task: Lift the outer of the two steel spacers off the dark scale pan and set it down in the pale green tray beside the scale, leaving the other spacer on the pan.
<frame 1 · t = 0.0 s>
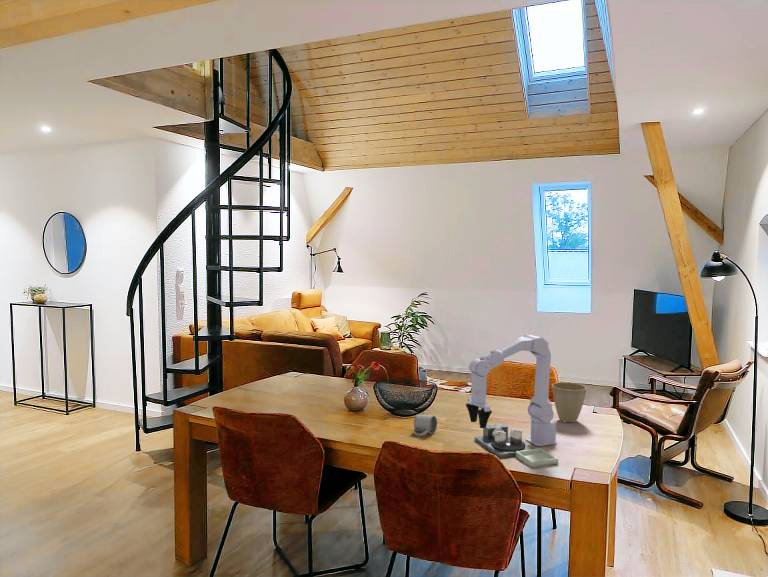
hand: (478, 424, 221), 10 cm above the table, tool pointing down, fingers open, 7 cm apart
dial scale: (504, 446, 226), on the table
ceramic mug: (424, 433, 242), on the table
spacer a: (516, 442, 224), point 2 cm above the table, touching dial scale
plant pot: (568, 420, 260), on the table
spacer b: (500, 444, 222), point 2 cm above the table, touching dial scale
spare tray: (536, 460, 212), on the table
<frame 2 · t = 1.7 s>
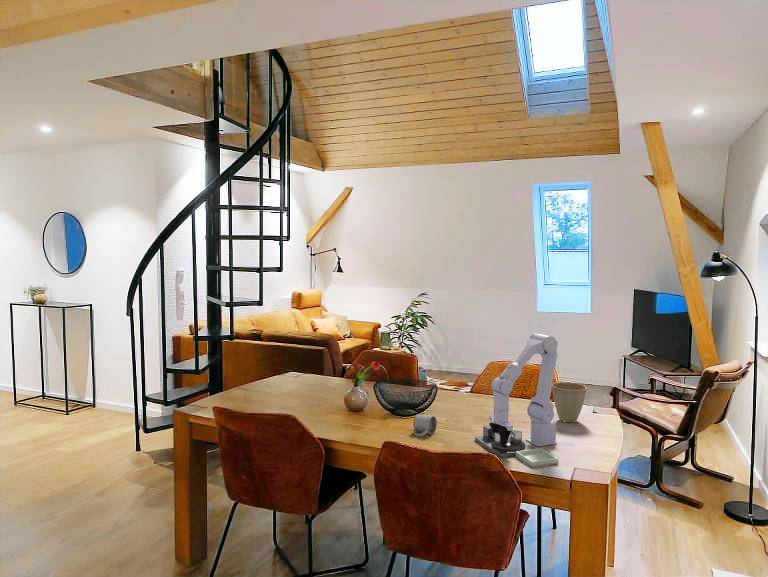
hand: (500, 443, 222), 3 cm above the table, tool pointing down, fingers closed on spacer b, 4 cm apart
spacer b: (500, 444, 222), point 2 cm above the table, touching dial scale, gripper
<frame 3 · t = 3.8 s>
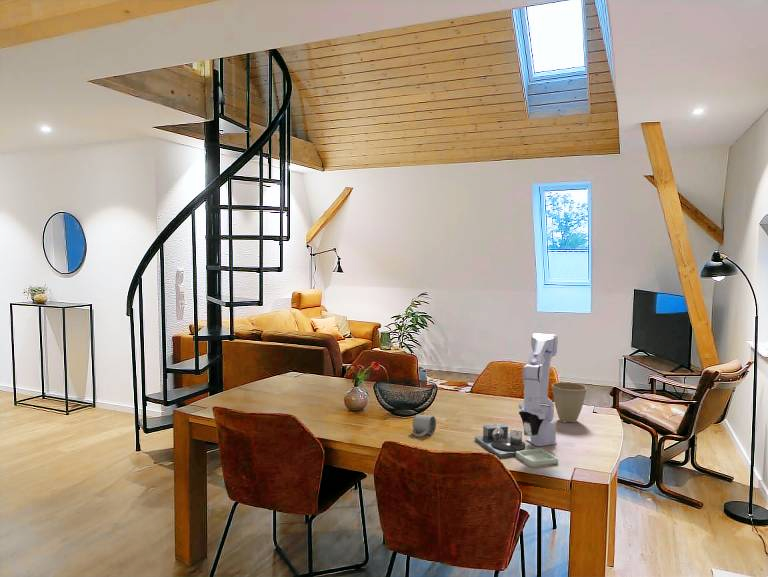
hand: (531, 432, 213), 10 cm above the table, tool pointing down, fingers closed on spacer b, 4 cm apart
spacer b: (530, 434, 213), point 9 cm above the table, touching gripper
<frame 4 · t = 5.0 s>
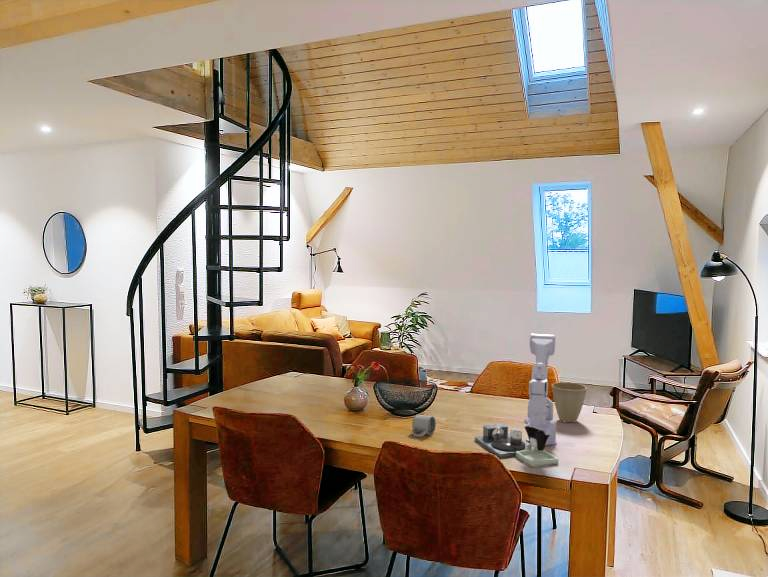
hand: (536, 447, 212), 5 cm above the table, tool pointing down, fingers closed on spacer b, 4 cm apart
spacer b: (535, 449, 212), point 4 cm above the table, touching gripper
when the fingers open (2 cm above the table, at t = 5.9 s): spacer b drops 1 cm, resting on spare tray.
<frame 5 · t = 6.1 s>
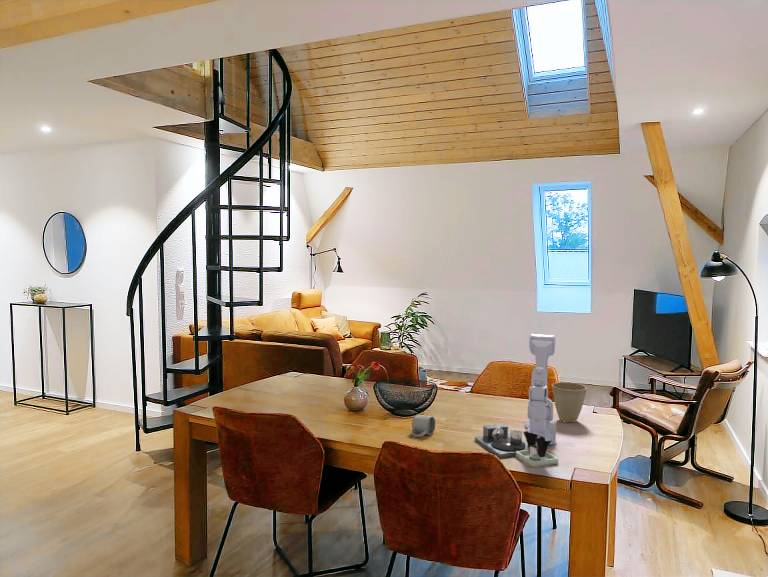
hand: (536, 453, 212), 3 cm above the table, tool pointing down, fingers open, 6 cm apart
spacer b: (535, 458, 212), point 1 cm above the table, touching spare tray
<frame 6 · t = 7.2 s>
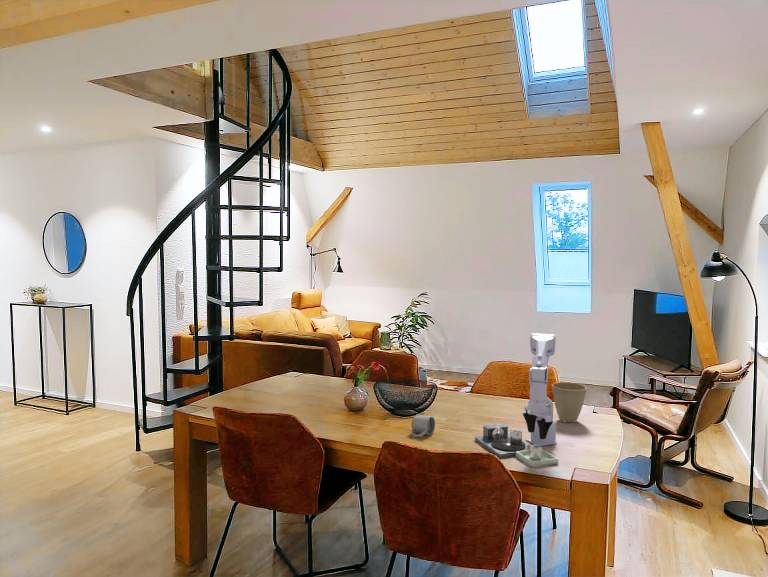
hand: (536, 435, 212), 9 cm above the table, tool pointing down, fingers open, 7 cm apart
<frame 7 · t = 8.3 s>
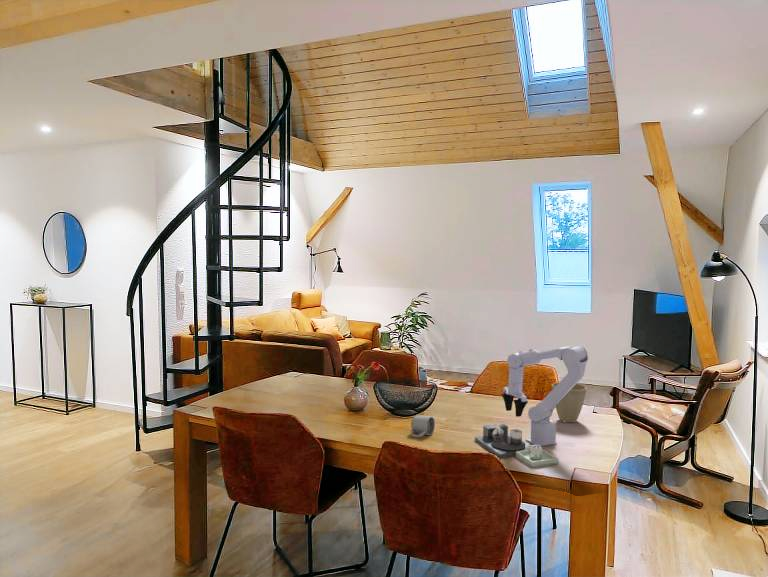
hand: (513, 413, 238), 10 cm above the table, tool pointing down, fingers open, 7 cm apart
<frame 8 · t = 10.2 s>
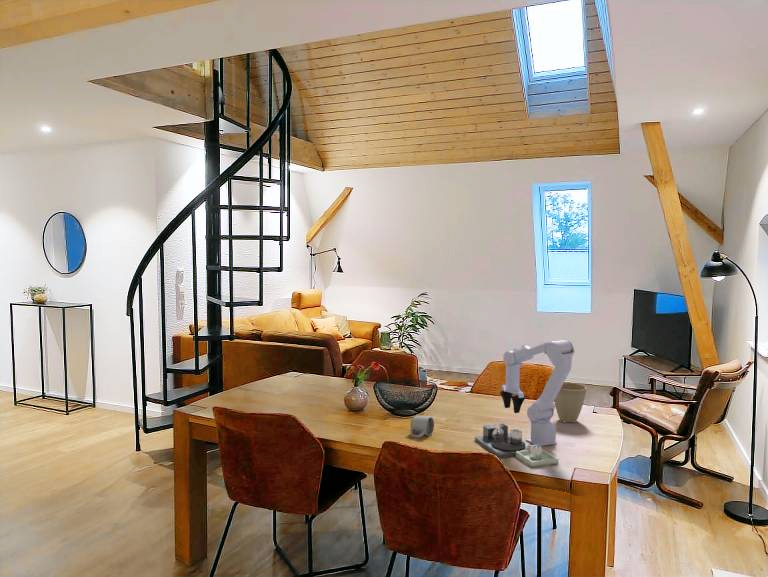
hand: (511, 410, 243), 9 cm above the table, tool pointing down, fingers open, 7 cm apart
at the end: spacer b inside the target area on the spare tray (0.4 cm from its centre), point 0.6 cm above the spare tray's base; spacer b tilted 0°; spacer a inside the target area on the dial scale (1.0 cm from its centre), point 2.3 cm above the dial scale's base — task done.
